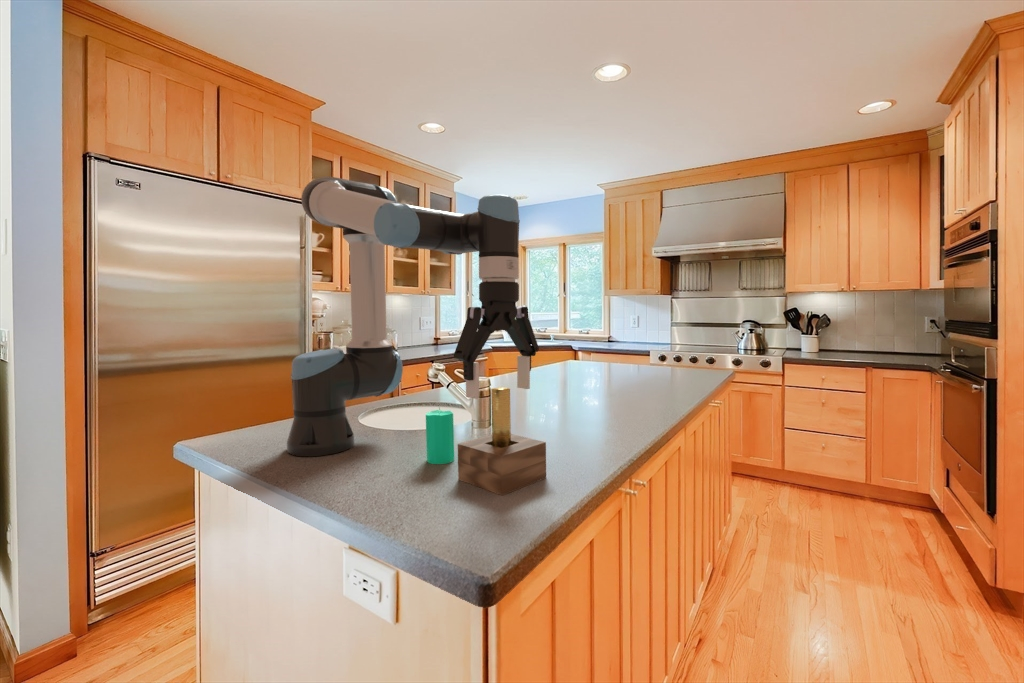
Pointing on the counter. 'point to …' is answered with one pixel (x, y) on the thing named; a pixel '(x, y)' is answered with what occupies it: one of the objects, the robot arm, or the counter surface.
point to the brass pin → (501, 417)
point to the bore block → (502, 463)
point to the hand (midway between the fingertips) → (499, 392)
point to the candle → (440, 437)
